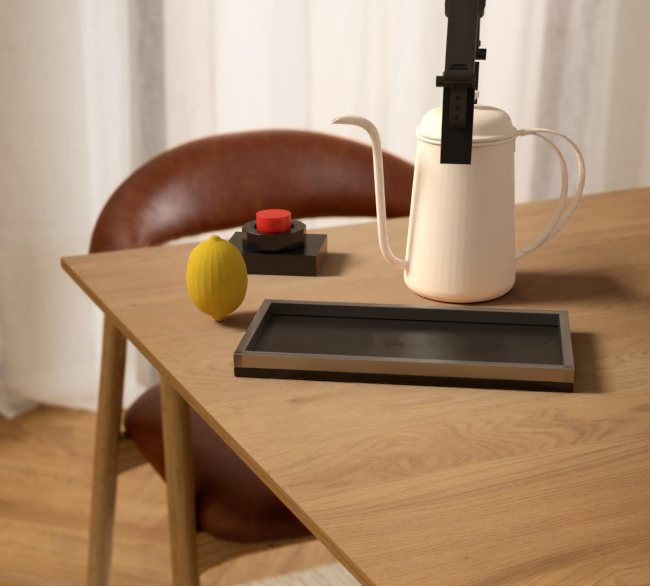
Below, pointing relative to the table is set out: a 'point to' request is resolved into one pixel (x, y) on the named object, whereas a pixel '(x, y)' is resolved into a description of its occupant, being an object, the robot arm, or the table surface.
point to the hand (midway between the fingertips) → (458, 147)
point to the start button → (273, 220)
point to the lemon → (216, 277)
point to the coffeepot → (464, 208)
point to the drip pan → (409, 345)
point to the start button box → (281, 250)
